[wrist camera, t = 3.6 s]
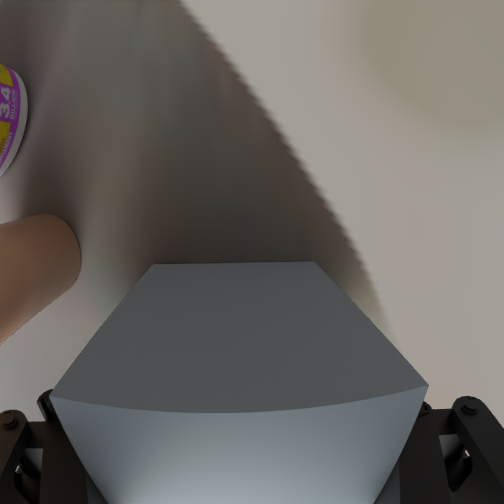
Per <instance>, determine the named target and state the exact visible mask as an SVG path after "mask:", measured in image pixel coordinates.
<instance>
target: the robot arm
mask: <svg viewBox="0 0 504 504" xmlns="http://www.w3.org/2000/svg"><path fill="white" fill-rule="evenodd" d="M52 391H53V389H50V390H48V391H46V392H44V393H43V394H42V395H41V396H39V398H38V400H37V404H38V406H39V408H40V410H41V412H42V415H43V417H44V419H45V421H44V422H28V421H27V419H26V417H25V415H24V414H23V413H22V412H21V411H18V410H7V411H4V412H2V413H0V504H108V503H107V501H106V500H105V498H104V497H103V495H102V494H101V492H100V491H99V489H98V488H97V486H96V485H95V483H94V482H93V480H92V478H91V477H90V475H89V474H88V472H87V470H86V469H85V467H84V465H83V464H82V462H81V460H80V458H79V457H78V455H77V453H76V451H75V449H74V448H73V446H72V444H71V442H70V440H69V438H68V436H67V434H66V432H65V430H64V428H63V426H62V424H61V422H60V420H59V418H58V416H57V413H56V411H55V409H54V407H53V404H52V402H51V400H50V398H49V395H50V394H51V392H52ZM466 450H467V452H468V453H469V455H470V456H467V454H466V453H465V451H466ZM17 466H19V468H18V470H17V471H16V469H17ZM15 471H16V472H15ZM373 504H504V428H503V427H502V426H501V424H500V423H499V422H498V420H497V419H496V418H495V417H494V415H493V414H492V413H491V411H490V410H489V409H488V408H487V406H486V405H485V404H484V403H483V402H482V401H481V400H480V399H477V398H475V397H471V396H463V397H460V398H458V399H456V401H455V402H454V404H453V406H452V408H451V409H436V410H435V409H431V407H430V405H429V404H427V403H426V402H424V401H423V403H422V405H421V408H420V411H419V413H418V416H417V418H416V420H415V423H414V425H413V428H412V430H411V432H410V434H409V437H408V439H407V441H406V443H405V445H404V448H403V450H402V452H401V454H400V456H399V458H398V460H397V462H396V464H395V466H394V468H393V470H392V472H391V474H390V475H389V477H388V479H387V481H386V483H385V485H384V486H383V488H382V490H381V492H380V493H379V495H378V497H377V498H376V500H375V502H374V503H373Z"/></svg>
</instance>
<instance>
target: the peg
mask: <svg viewBox="0 0 504 504" xmlns="http://www.w3.org/2000/svg"><path fill="white" fill-rule="evenodd" d="M80 267H81V253H80V248H79V244H78V241H77V239H76V237H75V235H74V233H73V231H72V230H71V228H70V227H69V226H68V224H67V223H66V222H65V221H63V220H62V219H61V218H59V217H57V216H56V215H53V214H48V213H42V214H38V215H34V216H30V217H26V218H22V219H18V220H14V221H11V222H7V223H4V224H0V345H1V344H2V343H4V342H5V341H6V340H7V339H8V338H9V337H10V336H12V335H13V334H14V333H15V332H16V331H18V330H19V329H20V328H21V327H22V326H23V325H25V324H26V323H27V322H28V321H30V320H31V319H32V318H33V317H34V316H36V315H37V314H38V313H39V312H41V311H42V310H43V309H44V308H46V307H47V306H48V305H49V304H51V303H52V302H53V301H54V300H56V299H57V298H58V297H59V296H61V295H62V294H63V293H65V292H66V291H67V290H69V289H70V288H71V287H72V286H73V285H74V283H75V282H76V280H77V278H78V276H79V272H80Z"/></svg>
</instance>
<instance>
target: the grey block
mask: <svg viewBox="0 0 504 504" xmlns="http://www.w3.org/2000/svg"><path fill="white" fill-rule="evenodd" d="M428 386H429V385H428V384H427V382H426V381H425V380H424V379H423V378H422V377H421V376H420V375H419V373H418V372H417V371H416V370H415V369H414V368H413V367H412V365H411V364H410V363H409V362H408V361H407V360H406V359H405V358H404V356H403V355H402V354H401V353H400V352H399V351H398V350H397V349H396V348H395V347H394V345H393V344H392V343H391V342H390V341H389V340H388V339H387V338H386V337H385V336H384V335H383V333H382V332H381V331H380V330H379V329H378V328H377V327H376V326H375V325H374V324H373V323H372V322H371V320H370V319H369V318H368V317H367V316H366V315H365V314H364V313H363V312H362V311H361V310H360V309H359V308H358V307H357V306H356V304H355V303H354V302H353V301H352V300H351V299H350V298H349V297H348V296H347V295H346V294H345V293H344V292H343V291H342V290H341V289H340V288H339V287H338V286H337V285H336V283H335V282H334V281H333V280H332V279H331V278H330V277H329V276H328V275H327V274H326V273H325V272H324V271H323V270H322V269H321V268H320V267H319V266H318V265H317V264H316V263H315V262H314V261H302V262H258V263H205V264H153V265H152V266H151V267H150V268H149V269H148V270H147V271H146V273H145V274H144V275H143V276H142V277H141V278H140V280H139V281H138V282H137V283H136V284H135V286H134V287H133V288H132V289H131V290H130V291H129V293H128V294H127V295H126V296H125V297H124V299H123V300H122V301H121V302H120V304H119V305H118V306H117V307H116V308H115V310H114V311H113V312H112V313H111V315H110V316H109V317H108V318H107V320H106V321H105V322H104V323H103V325H102V326H101V327H100V328H99V330H98V331H97V332H96V333H95V335H94V336H93V337H92V338H91V340H90V341H89V342H88V344H87V345H86V346H85V348H84V349H83V350H82V351H81V353H80V354H79V355H78V357H77V358H76V359H75V361H74V362H73V363H72V365H71V366H70V367H69V369H68V370H67V371H66V373H65V374H64V375H63V377H62V378H61V380H60V381H59V382H58V384H57V385H56V387H55V388H54V389H53V391H52V392H51V394H50V395H49V398H50V400H51V402H52V404H53V407H54V409H55V411H56V413H57V416H58V418H59V420H60V422H61V424H62V426H63V428H64V430H65V432H66V434H67V436H68V438H69V440H70V442H71V444H72V446H73V448H74V449H75V451H76V453H77V455H78V457H79V458H80V460H81V462H82V464H83V465H84V467H85V469H86V470H87V472H88V474H89V475H90V477H91V478H92V480H93V482H94V483H95V485H96V486H97V488H98V489H99V491H100V492H101V494H102V495H103V497H104V498H105V500H106V501H107V503H108V504H373V503H374V502H375V500H376V498H377V497H378V495H379V493H380V492H381V490H382V488H383V486H384V485H385V483H386V481H387V479H388V477H389V475H390V474H391V472H392V470H393V468H394V466H395V464H396V462H397V460H398V458H399V456H400V454H401V452H402V450H403V448H404V445H405V443H406V441H407V439H408V437H409V434H410V432H411V430H412V428H413V425H414V423H415V420H416V418H417V416H418V413H419V411H420V408H421V405H422V403H423V400H424V397H425V395H426V392H427V389H428Z"/></svg>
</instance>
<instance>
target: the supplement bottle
mask: <svg viewBox="0 0 504 504" xmlns="http://www.w3.org/2000/svg"><path fill="white" fill-rule="evenodd" d="M27 110H28V102H27V93H26V89H25V86H24V83H23V81H22V79H21V78H20V76H19V75H18V74H17V73H16V72H15V71H14V70H12V69H11V68H9V67H7V66H5V65H3V64H0V177H1V176H2V175H3V174H4V172H5V171H6V170H7V168H8V167H9V166H10V164H11V162H12V161H13V159H14V157H15V155H16V153H17V151H18V148H19V146H20V143H21V140H22V137H23V134H24V130H25V125H26V121H27Z"/></svg>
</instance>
